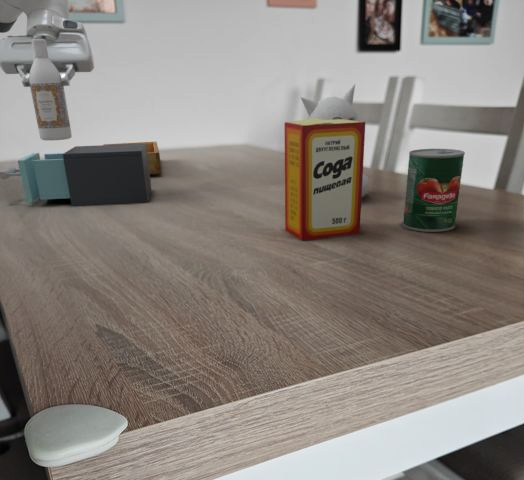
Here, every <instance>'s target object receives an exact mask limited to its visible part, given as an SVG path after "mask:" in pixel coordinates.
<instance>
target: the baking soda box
mask: <svg viewBox="0 0 524 480" xmlns="http://www.w3.org/2000/svg"><path fill="white" fill-rule="evenodd" d="M365 141H366V121H361V120H358V121H354V120H346V119H335V120H321V119H317V118H314V119H301V120H294V121H285V122H284V202H285V203H284V208H285V209H284V210H285V211H284V212H285V213H284V216H285V217H284V220H285V223H284V224H285V228H284V229H285V231H286V232H287V233H289V234H291V235H293V236H294V237H295V238H297V239H298V240H300V241H310V240H316V239H324V238H325V239H326V238H333V237H339V236H348V235H357V234H360V233H361V216H362V214H361V213H362V198H363V197H362V178H363V173H364V159H365V158H364V157H365Z"/></svg>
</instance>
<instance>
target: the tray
mask: <svg viewBox="0 0 524 480" xmlns="http://www.w3.org/2000/svg"><path fill="white" fill-rule="evenodd" d="M124 144H146V145H147V154H148V163H149V172H150V175H158V174H162V164H161V156H160V155H161V153H160V149H159V147H158V146H159V145H158V141H143V142H142V141H141V142H123V143H121V142H120V143H104V144H103V145H124Z"/></svg>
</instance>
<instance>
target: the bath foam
mask: <svg viewBox="0 0 524 480" xmlns="http://www.w3.org/2000/svg"><path fill="white" fill-rule="evenodd" d="M31 41H32V47H33V52H34V57H35V60H34V62H33V64H32V67H31V70H30V74H28V75H29V82H30V87H29V88H30V93H31V98H32V104H33V108H34V113H35V114H34V115H35V120H36V123H37V129H38V134H39V138H40V140H42V141H63V140H70V139H71V138H72V137H73V135H72V128H71V123H70V117H69V116H70V115H69V110H68V104H67V99H66V93H65V86H63V85H62V83H61V73H59V71H58V70H57V68H56V67H55V66H54V64H53V63H52V62H51V60H50V59H49V58H48V57H49V56H48V50H47V44H46V40H45V39H32V40H31Z"/></svg>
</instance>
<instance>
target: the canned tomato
mask: <svg viewBox="0 0 524 480" xmlns="http://www.w3.org/2000/svg"><path fill="white" fill-rule="evenodd" d="M465 154H466V152H465V151H464V150H461V149H453V148H420V149H413V150H410V151H409V152H408V165H407V167H408V168H407V176H406V186H405V187H406V188H405V199H404V200H405V201H404V208H403V210H404V211H403V221H402V226H403V227H404V228H405V229H407V230H410V231H413V232H414V231H415V232H422V233H442V232H448V231H452V230H453V229H455V227H456V219H457V210H458V205H459V197H460V196H459V195H460V190H461V189H460V188H461V182H462V181H461V180H462V174H463V166H464V159H465V158H464V157H465Z"/></svg>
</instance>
